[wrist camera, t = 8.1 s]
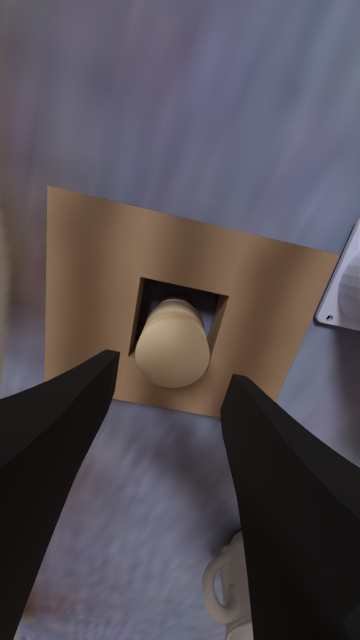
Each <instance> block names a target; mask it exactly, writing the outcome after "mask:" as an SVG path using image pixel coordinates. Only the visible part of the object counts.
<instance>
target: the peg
mask: <svg viewBox="0 0 360 640" xmlns="http://www.w3.org/2000/svg"><path fill="white" fill-rule="evenodd" d="M135 358H136V363H137V366H138V368H139V370H140V371H141V373H142V374H143V375H144V376H145V377H146V378H147V379H148V380H150V381H151V382H153V383H155V384H157V385H160V386H163V387H168V388H178V387H183V386H187V385H189V384H191V383H193V382H195V381H196V380H198V379H199V378H200V377H201V376H202V375H203V373H204V372H205V371H206V369H207V367H208V364H209V359H210V351H209V346H208V342H207V339H206V335H205V331H204V324H203V320H202V317H201V315H200V314H199V312H198V311H197V310H196V309H195V307H194V305H193V304H192V302H191V301H190V300H188V299H187V298H185V297H183V296H179V295H172V296H168V297H166V298H164V299H163V300H161V301H160V303H159V304H158V306H156V307H155V308H154V309H153V310H152V311H151V312H150V314H149V315H148V318H147V320H146V323H145V326H144V329H143V331H142V334H141V336H140V338H139V341H138V343H137V346H136V351H135Z"/></svg>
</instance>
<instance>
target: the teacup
mask: <svg viewBox="0 0 360 640" xmlns="http://www.w3.org/2000/svg"><path fill="white" fill-rule="evenodd" d="M220 568H221V579H222V593H223V604H224V606H223V605H222V604H221V603H220V602H219V601H218V598H217V596H216V593H215V590H214V577H215V574H216V572H217V571H218V569H220ZM202 592H203V598H204V602H205V605H206V608H207V610H208V612H209V614H210V615H211V617H212V618H213V619H214V620H215V621H216V622H218V623H222V624H225V623H226V636H225V639H226V640H253V629H252V618H251V608H250V598H249V588H248V578H247V570H246V561H245V553H244V545H243V536H242V530H241V531H239V532H238V533H237V534H235V535H234V537H233V538H232V540H231V542H230V543H229V545H226V546H224V547H223V548H222V551H221V554H220V555H218V556H217V557H216V558H214V559H213V560H212V561H211V562H210V563H209V564H208V566H207V568H206V570H205V572H204V575H203V579H202Z"/></svg>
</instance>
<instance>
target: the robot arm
mask: <svg viewBox="0 0 360 640" xmlns="http://www.w3.org/2000/svg"><path fill="white" fill-rule="evenodd" d="M329 315H330V318H329V319H327V320H326V318H327V316H329ZM315 319H316V320H317V321H319V322H321V323H325V324H330V325H335V326H339V327H344V328H349V329H353V330H358V331H360V219H359V220H358V221H357V222H356V224H355V226H354V229H353V231H352V233H351V235H350V238H349V240H348V242H347V244H346V247H345V249H344V251H343V254H342V256H341V258H340V260H339V263H338V265H337V267H336V269H335V272H334V274H333V276H332V278H331V281H330V283H329V285H328V287H327V290H326V292H325V294H324V296H323V299H322V301H321V303H320V305H319V308H318V310H317V312H316V315H315ZM119 359H120V352H118V351H113V350H108V349H105V350H104V351H102V352H100V353H98V354H97V355H95V356H93V357H92V358H90V359H88V360H86V361H85V362H83V363H81V364H79V365H78V366H76V367H74V368H72V369H70V370H68V371H66V372H64V373H62V374H60V375H58V376H56V377H54V378H52V379H50V380H48V381H46V382H44V383H41V384H39V385H37V386H34V387H32V388H29V389H27V390H24V391H22V392H19V393H17V394H14V395H11V396H8V397H5V398H2V399H0V640H13V639H14V636H15V633H16V631H17V628H18V625H19V622H20V620H21V617H22V614H23V611H24V609H25V606H26V603H27V600H28V598H29V595H30V592H31V590H32V587H33V585H34V582H35V579H36V577H37V574H38V571H39V569H40V566H41V563H42V561H43V558H44V555H45V553H46V550H47V547H48V545H49V542H50V540H51V537H52V535H53V532H54V529H55V527H56V524H57V522H58V519H59V517H60V514H61V511H62V509H63V506H64V504H65V501H66V499H67V496H68V494H69V491H70V489H71V486H72V484H73V481H74V479H75V477H76V475H77V472H78V470H79V468H80V466H81V464H82V462H83V460H84V458H85V456H86V454H87V452H88V450H89V448H90V446H91V444H92V442H93V440H94V438H95V436H96V434H97V432H98V430H99V428H100V426H101V424H102V422H103V420H104V418H105V416H106V414H107V412H108V409H109V406H110V404H111V401H112V398H113V395H114V392H115V387H116V380H117V373H118V366H119ZM220 415H221V426H222V434H223V439H224V443H225V448H226V452H227V457H228V461H229V465H230V469H231V474H232V478H233V482H234V487H235V491H236V496H237V502H238V508H239V515H240V522H241V529H242V536H243V545H244V553H245V561H246V570H247V578H248V588H249V598H250V608H251V618H252V629H253V640H360V468H359V467H358V466H356V465H354V464H353V463H351V462H350V461H348V460H347V459H346V458H344V457H343V456H341V455H340V454H338V453H337V452H336V451H334V450H333V449H332V448H330V447H329V446H328V445H326V444H325V443H323V442H322V441H321V440H319V439H318V438H317V437H315V436H314V435H313V434H312V433H310V432H309V431H308V430H307V429H305V428H304V427H303V426H302V425H301V424H299V423H298V422H297V421H296V420H295V419H294V418H292V417H291V416H290V415H289V414H288V413H287V412H286V411H284V410H283V409H282V408H281V407H280V406H279V405H278V404H277V403H276V402H274V401H273V400H272V399H271V398H270V397H269V396H268V395H267V394H266V393H265V392H264V391H263V390H262V389H261V388H259V387H258V386H257V385H256V384H255V383H254V382H253V381H252V380H251V379H249V378H248V377H247V376H243V375H238V374H232V377H231V380H230V383H229V386H228V389H227V392H226V395H225V398H224V401H223V404H222V406H221V409H220Z"/></svg>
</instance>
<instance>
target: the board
mask: <svg viewBox="0 0 360 640" xmlns="http://www.w3.org/2000/svg"><path fill="white" fill-rule="evenodd" d="M339 256H340V255H338V254H334V253H329V252H325V251H321V250H317V249H313V248H308V247H304V246H300V245H296V244H291V243H287V242H283V241H279V240H275V239H270V238H266V237H262V236H258V235H253V234H249V233H245V232H241V231H237V230H232V229H228V228H224V227H220V226H215V225H211V224H207V223H203V222H199V221H194V220H190V219H186V218H182V217H177V216H173V215H169V214H165V213H161V212H156V211H152V210H148V209H144V208H139V207H135V206H131V205H127V204H123V203H118V202H114V201H110V200H106V199H101V198H97V197H93V196H89V195H85V194H80V193H76V192H72V191H68V190H63V189H59V188H55V187H51V186H48V193H47V259H46V324H45V382H46V381H48V380H50V379H52V378H54V377H56V376H58V375H60V374H62V373H64V372H66V371H68V370H70V369H72V368H74V367H76V366H78V365H79V364H81V363H83V362H85V361H86V360H88V359H90V358H92V357H93V356H95V355H97V354H98V353H100V352H102V351H104V350H105V349H108V350H113V351H118V352H120V359H119V366H118V373H117V380H116V387H115V392H114V395H113V398H112V399H117V400H123V401H128V402H134V403H139V404H145V405H151V406H156V407H162V408H167V409H173V410H179V411H184V412H190V413H195V414H201V415H207V416H212V417H218V418H221V415H220V409H221V406H222V404H223V401H224V398H225V395H226V392H227V389H228V386H229V383H230V380H231V377H232V374H238V375H243V376H247V377H248V378H249V379H251V380H252V381H253V382H254V383H255V384H256V385H257V386H258V387H259V388H261V389H262V390H263V391H264V392H265V393H266V394H267V395H268V396H269V397H270V398H271V399H272V400H273V401H274V402H275V401H276V399H277V397H278V394H279V392H280V390H281V388H282V385H283V383H284V381H285V378H286V376H287V374H288V372H289V369H290V367H291V365H292V363H293V360H294V358H295V356H296V353H297V351H298V349H299V347H300V344H301V342H302V340H303V338H304V335H305V333H306V331H307V328H308V326H309V324H310V322H311V319H312V317H313V315H314V313H315V310H316V308H317V306H318V303H319V301H320V299H321V297H322V294H323V292H324V290H325V288H326V285H327V283H328V281H329V278H330V276H331V274H332V272H333V269H334V267H335V265H336V263H337V260H338V258H339ZM146 278H148V279H153V280H158V281H162V282H167V283H171V284H176V285H181V286H185V287H190V288H195V289H199V290H204V291H208V292H213V293H218V294H220V295H219V299H218V302H217V306H216V309H215V313H214V316H213V320H212V323H211V327H210V331H209V334H208V338H207V342H208V346H209V351H210V359H209V364H208V367H207V369H206V371H205V372H204V373H203V375H202V376H201V377H200V378H199V379H198V380H196V381H195V382H193V383H191V384H189V385H187V386H183V387H178V388H168V387H163V386H160V385H157V384H155V383H153V382H151V381H150V380H148V379H147V378H146V377H145V376H144V375H143V374H142V373H141V371H140V370H139V368H138V366H137V363H136V358H135V351H136V346H137V343H138V341H139V340H136V335H137V329H138V323H139V317H140V311H141V305H142V299H143V292H144V286H145V280H146Z"/></svg>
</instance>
